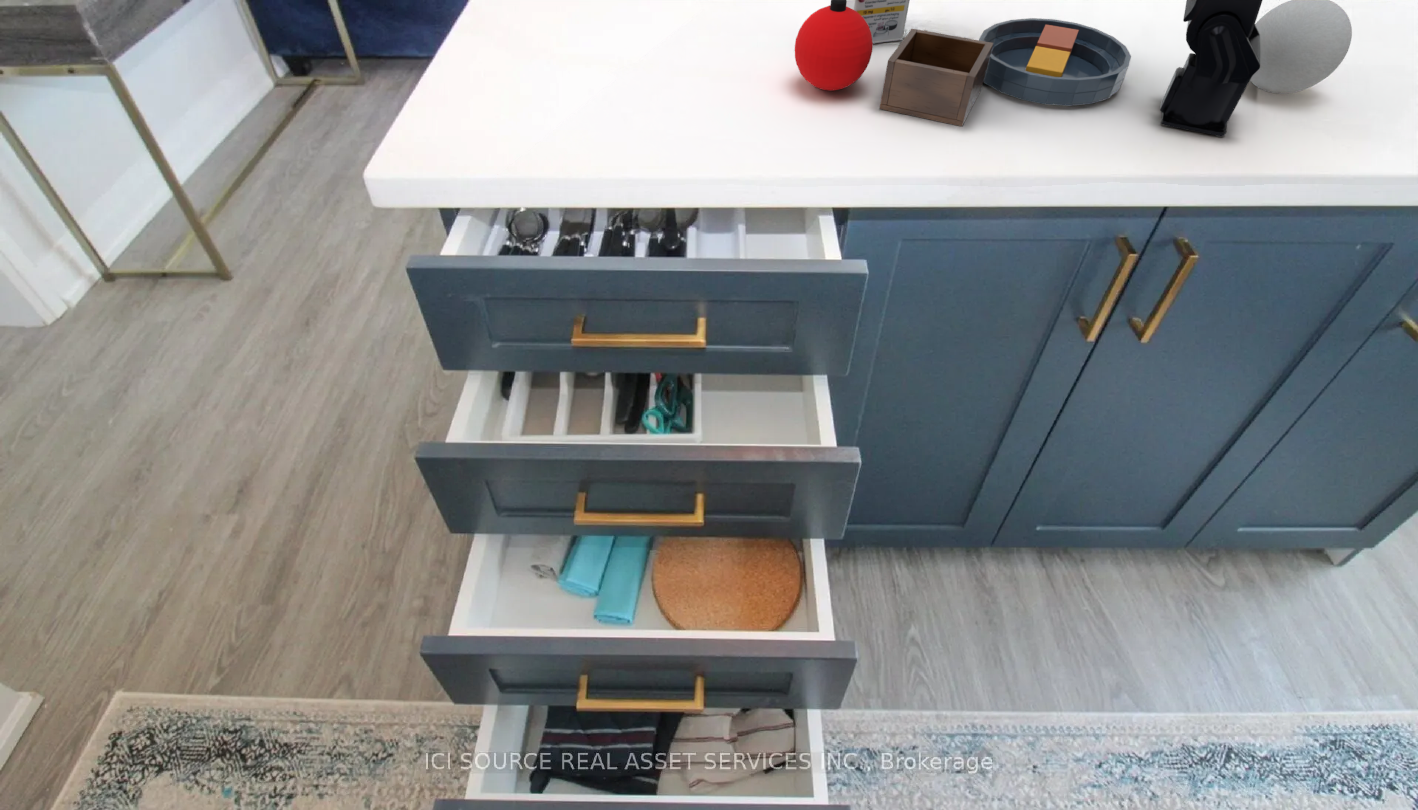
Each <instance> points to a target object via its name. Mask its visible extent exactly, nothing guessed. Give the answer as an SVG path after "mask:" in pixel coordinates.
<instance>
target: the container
mask: <svg viewBox="0 0 1418 810" xmlns="http://www.w3.org/2000/svg"><path fill="white" fill-rule="evenodd" d="M846 1H847V4H846V7H849V8H851V9H853V10H855V11H856V12H858V13H859V14H860V15H861V16H862V17H863V18H864V20H865V21H866V23H867V24H868V26H869V29H870V31H871V35H872V42H873V44H882V43H888V42H896V41H902V40H903V39H904V33H905V28H906V23H907V17H908V12H909V6H910V0H846Z"/></svg>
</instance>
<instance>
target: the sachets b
mask: <svg viewBox="0 0 1418 810" xmlns="http://www.w3.org/2000/svg"><path fill="white" fill-rule="evenodd" d="M1078 31H1079V30H1076V29H1070V28H1064V27H1058V26H1052V25H1045V27H1044V29H1043V31H1042V34H1041V36H1040V38H1039V40H1038V42H1037V45H1036V46H1039V47H1045V48H1050V49H1056V50H1062V51H1067V52H1070V54H1071V51H1072V48H1073V45H1074V42H1075V40H1076V37H1077V34H1078ZM1069 57H1070V55H1069ZM1068 59H1069V58H1068ZM1067 62H1068V61H1067ZM1066 65H1067V64H1066ZM1065 67H1066V66H1065ZM1064 70H1065V69H1064Z"/></svg>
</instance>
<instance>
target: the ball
mask: <svg viewBox="0 0 1418 810" xmlns="http://www.w3.org/2000/svg"><path fill="white" fill-rule="evenodd" d="M1349 17H1350V16H1349V15H1348V14H1347V11H1345V10H1344V8H1342V7H1341V6H1340V5H1339V4H1338V3H1336V2H1335V1H1332V0H1288V1H1285V2H1282V3H1281V4H1279V5H1277V6H1274V8H1272V9H1270V10H1269V11H1268V12H1266V13H1265V14H1264V15H1263V16H1262V17H1260V18H1259V20H1258V21H1256V22H1255V25H1256V27H1257V29H1258V31H1259V33H1260V69H1259V70H1258V71H1257V72H1256V73H1255V74H1254V75H1253V76H1252V78H1251V80H1250V82H1249V83H1251V84H1253V85H1254V86H1255V87H1257V88H1258V89H1260V90H1262V91H1265V92H1268V93H1272V94H1283V95H1284V94H1291V93H1292V94H1293V93H1297V92H1301V91H1304V90H1307V89H1309V88H1312V87H1313V86H1315V85H1318V84H1319V83H1321V82H1323V81H1324V80H1325V79H1327V78H1328V77H1329V76H1330V75H1331V74H1333V73H1334V71H1336V70H1337V68H1338V67H1339V66H1340V65H1341V64H1342V62H1343V61H1344V59H1346V58H1345V57H1346V56H1347V54H1348V53H1349V49H1350V46H1351V44H1352V37H1353V28H1352V22H1351V19H1350V18H1349Z"/></svg>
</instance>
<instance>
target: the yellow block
mask: <svg viewBox="0 0 1418 810" xmlns="http://www.w3.org/2000/svg"><path fill="white" fill-rule="evenodd" d="M1069 55H1070V52H1067V51H1062V50H1056V49H1050V48H1045V47H1039V46H1036V47H1035V49H1034V51H1033V53H1032V56H1031V58H1030V60H1029V62H1028V64H1027V67H1026V70H1025V71H1028V72H1032V73H1037V74H1042V75H1048V76H1053V77H1062V75H1063V72H1064V69H1065V66H1066V64H1067V61H1068V58H1069Z"/></svg>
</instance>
